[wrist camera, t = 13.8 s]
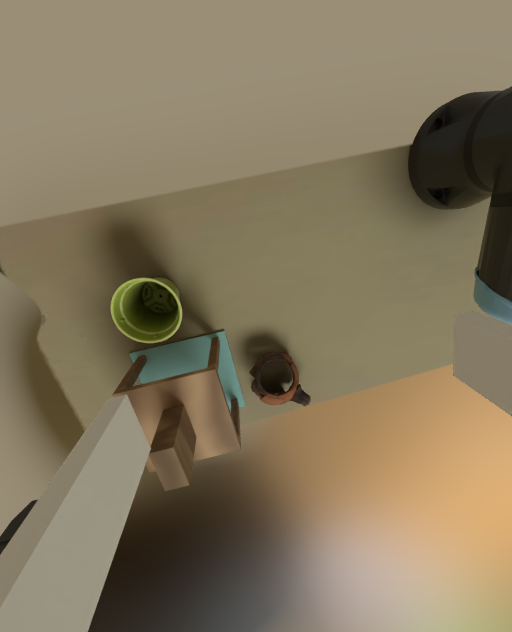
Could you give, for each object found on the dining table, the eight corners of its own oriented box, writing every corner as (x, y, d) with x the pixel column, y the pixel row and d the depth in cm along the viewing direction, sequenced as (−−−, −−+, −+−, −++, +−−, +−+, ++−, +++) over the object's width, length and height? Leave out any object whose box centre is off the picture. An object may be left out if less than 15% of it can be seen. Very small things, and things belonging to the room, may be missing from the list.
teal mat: (224, 330, 49) (224, 331, 49) (245, 404, 55) (245, 405, 54) (129, 353, 49) (128, 353, 49) (159, 425, 55) (159, 426, 54)
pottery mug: (240, 389, 54) (240, 391, 46) (261, 345, 56) (265, 340, 48) (296, 418, 54) (306, 425, 46) (316, 372, 56) (329, 372, 48)
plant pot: (186, 326, 49) (177, 348, 40) (129, 317, 47) (108, 337, 39) (194, 273, 46) (186, 285, 38) (133, 262, 44) (112, 271, 36)
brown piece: (218, 336, 49) (211, 405, 31) (238, 403, 54) (243, 497, 36) (138, 356, 49) (83, 437, 31) (165, 421, 54) (132, 525, 36)
